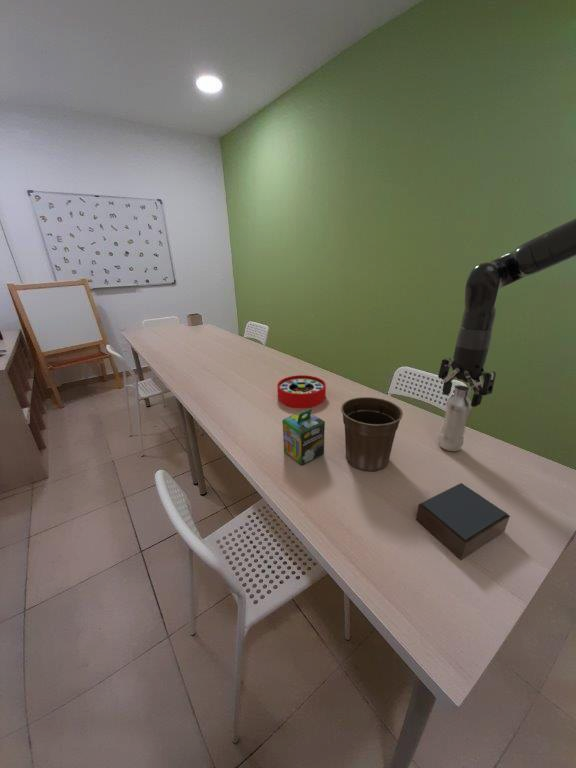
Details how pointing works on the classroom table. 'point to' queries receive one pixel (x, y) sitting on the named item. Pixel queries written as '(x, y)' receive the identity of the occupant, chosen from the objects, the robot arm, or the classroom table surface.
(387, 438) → the plant pot
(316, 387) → the toy clock
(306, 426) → the chalk box
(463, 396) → the plastic bottle
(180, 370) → the classroom table surface
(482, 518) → the step block
